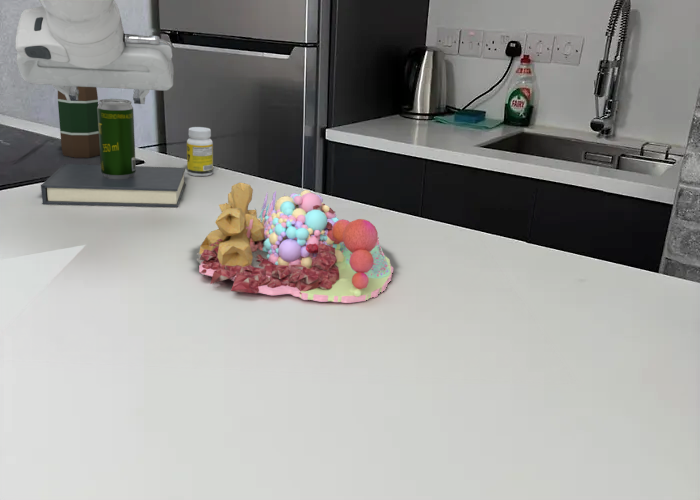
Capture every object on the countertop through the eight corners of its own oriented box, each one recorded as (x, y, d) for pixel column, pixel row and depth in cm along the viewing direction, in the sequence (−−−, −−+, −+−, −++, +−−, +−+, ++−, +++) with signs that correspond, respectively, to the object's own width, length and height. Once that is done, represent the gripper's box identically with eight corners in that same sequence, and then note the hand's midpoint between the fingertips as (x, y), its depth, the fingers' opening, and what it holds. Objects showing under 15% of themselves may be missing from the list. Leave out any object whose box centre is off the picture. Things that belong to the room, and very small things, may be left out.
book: (42, 204, 104) (40, 185, 103) (65, 180, 117) (64, 163, 116) (177, 207, 107) (177, 188, 106) (185, 184, 120) (185, 167, 119)
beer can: (136, 171, 114) (133, 99, 110) (135, 179, 109) (132, 104, 105) (102, 171, 113) (98, 98, 109) (99, 179, 108) (95, 103, 104)
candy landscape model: (178, 297, 76) (176, 218, 72) (211, 230, 98) (211, 167, 95) (401, 308, 77) (409, 230, 74) (384, 239, 99) (390, 177, 96)
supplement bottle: (188, 170, 130) (188, 125, 127) (214, 171, 130) (214, 127, 127) (185, 176, 125) (185, 130, 122) (211, 177, 126) (211, 131, 123)
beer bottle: (54, 151, 136) (44, 25, 128) (93, 148, 141) (85, 27, 133) (69, 159, 131) (59, 28, 123) (109, 156, 136) (102, 30, 128)
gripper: (172, 19, 91) (180, 85, 104) (9, 9, 88) (37, 78, 100) (169, 56, 89) (178, 119, 101) (1, 47, 85) (31, 113, 98)
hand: (107, 98), depth 101 cm, fingers open, 8 cm apart
